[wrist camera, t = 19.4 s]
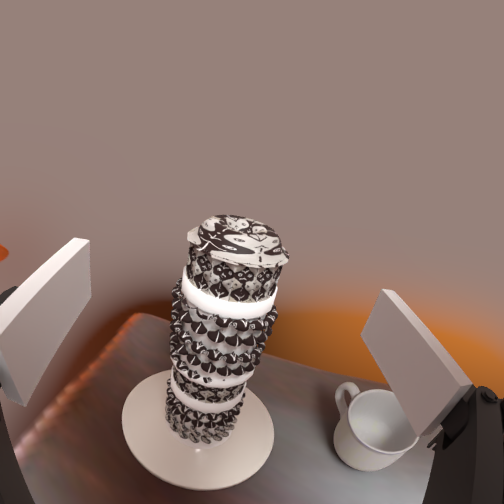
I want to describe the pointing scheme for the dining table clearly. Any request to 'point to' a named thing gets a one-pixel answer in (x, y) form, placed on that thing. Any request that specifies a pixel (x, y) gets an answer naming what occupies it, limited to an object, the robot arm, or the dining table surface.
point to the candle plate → (185, 457)
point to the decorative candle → (220, 325)
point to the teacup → (371, 428)
